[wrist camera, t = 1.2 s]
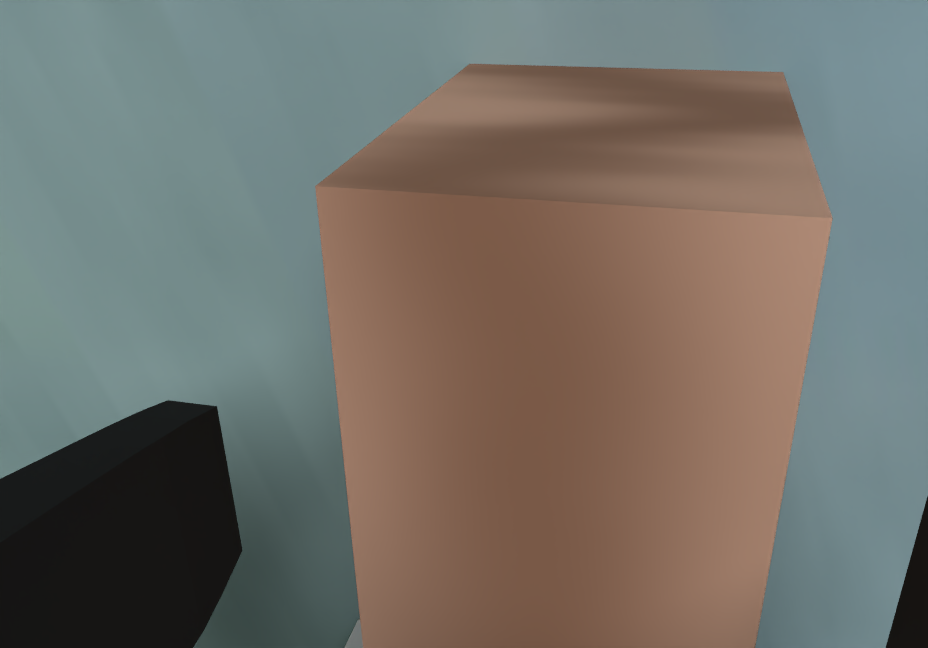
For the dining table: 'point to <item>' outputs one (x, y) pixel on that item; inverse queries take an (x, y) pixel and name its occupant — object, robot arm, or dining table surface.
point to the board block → (572, 354)
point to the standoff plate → (355, 637)
